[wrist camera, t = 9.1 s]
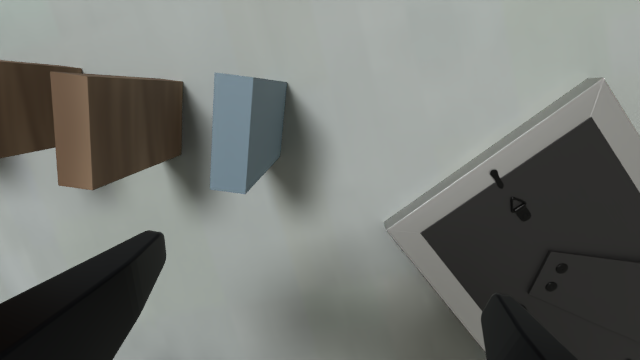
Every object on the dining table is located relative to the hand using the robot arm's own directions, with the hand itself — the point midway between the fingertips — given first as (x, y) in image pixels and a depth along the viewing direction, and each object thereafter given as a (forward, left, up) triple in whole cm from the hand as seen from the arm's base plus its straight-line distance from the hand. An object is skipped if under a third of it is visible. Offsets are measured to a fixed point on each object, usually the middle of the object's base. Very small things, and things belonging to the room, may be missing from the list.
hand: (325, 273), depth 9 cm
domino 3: (+2, +5, -15) cm, 16 cm away
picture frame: (-5, -17, -16) cm, 24 cm away
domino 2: (+2, +12, -15) cm, 19 cm away
